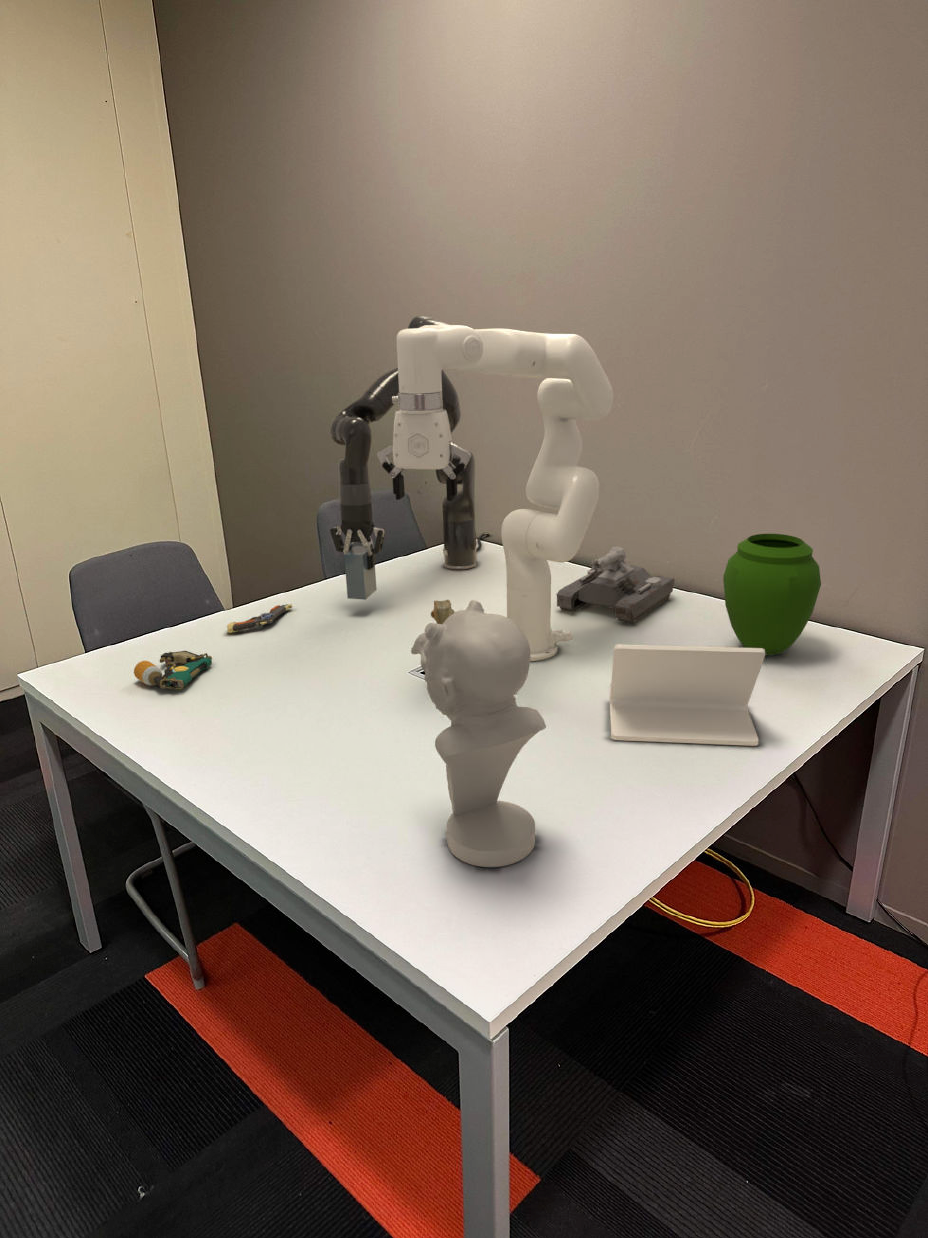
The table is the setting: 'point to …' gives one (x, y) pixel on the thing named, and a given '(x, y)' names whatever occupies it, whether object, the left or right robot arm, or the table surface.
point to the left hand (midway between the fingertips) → (360, 568)
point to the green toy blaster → (172, 669)
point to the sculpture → (441, 611)
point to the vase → (771, 590)
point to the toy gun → (258, 619)
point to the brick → (359, 574)
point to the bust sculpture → (481, 729)
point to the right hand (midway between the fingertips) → (425, 498)
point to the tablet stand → (683, 694)
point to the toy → (616, 588)
